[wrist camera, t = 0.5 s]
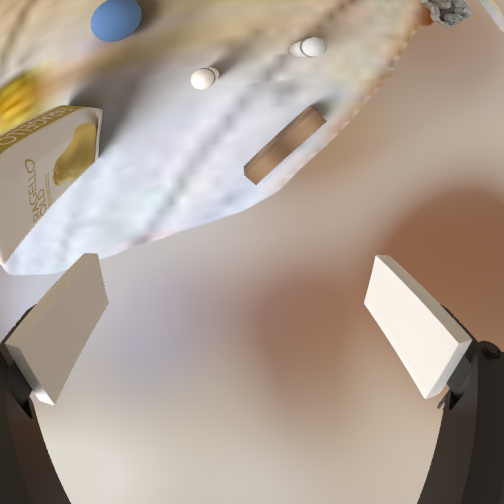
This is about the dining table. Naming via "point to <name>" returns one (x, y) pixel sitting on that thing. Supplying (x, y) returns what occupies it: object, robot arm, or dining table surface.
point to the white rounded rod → (308, 48)
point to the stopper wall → (283, 144)
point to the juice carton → (42, 166)
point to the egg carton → (448, 11)
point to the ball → (116, 19)
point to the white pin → (204, 77)
